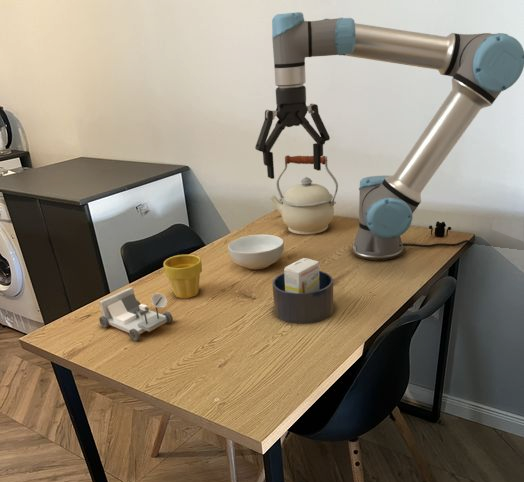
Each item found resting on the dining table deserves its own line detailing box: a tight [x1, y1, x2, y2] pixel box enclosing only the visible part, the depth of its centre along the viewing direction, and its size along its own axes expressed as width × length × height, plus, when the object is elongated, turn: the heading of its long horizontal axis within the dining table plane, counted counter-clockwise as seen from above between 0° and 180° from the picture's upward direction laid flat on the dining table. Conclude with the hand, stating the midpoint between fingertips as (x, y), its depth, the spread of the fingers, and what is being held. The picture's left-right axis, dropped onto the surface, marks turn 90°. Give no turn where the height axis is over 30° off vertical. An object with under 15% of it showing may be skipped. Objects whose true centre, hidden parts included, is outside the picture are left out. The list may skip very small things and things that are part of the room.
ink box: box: [283, 257, 320, 293], centre depth 137 cm, size 9×5×12 cm, turn 139°
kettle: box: [269, 154, 339, 236], centre depth 189 cm, size 25×18×25 cm
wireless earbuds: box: [428, 221, 452, 238], centre depth 177 cm, size 7×2×5 cm, turn 65°
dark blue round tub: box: [271, 270, 334, 324], centre depth 139 cm, size 15×15×8 cm
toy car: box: [98, 286, 174, 342], centre depth 137 cm, size 18×10×12 cm
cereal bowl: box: [227, 233, 285, 270], centre depth 167 cm, size 17×17×7 cm
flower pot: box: [163, 254, 203, 299], centre depth 152 cm, size 10×10×10 cm
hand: (294, 173), depth 146 cm, fingers open, 13 cm apart
